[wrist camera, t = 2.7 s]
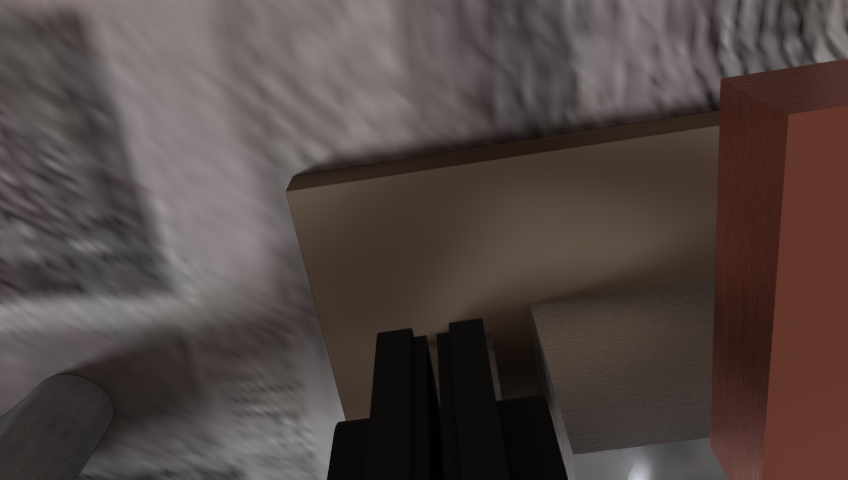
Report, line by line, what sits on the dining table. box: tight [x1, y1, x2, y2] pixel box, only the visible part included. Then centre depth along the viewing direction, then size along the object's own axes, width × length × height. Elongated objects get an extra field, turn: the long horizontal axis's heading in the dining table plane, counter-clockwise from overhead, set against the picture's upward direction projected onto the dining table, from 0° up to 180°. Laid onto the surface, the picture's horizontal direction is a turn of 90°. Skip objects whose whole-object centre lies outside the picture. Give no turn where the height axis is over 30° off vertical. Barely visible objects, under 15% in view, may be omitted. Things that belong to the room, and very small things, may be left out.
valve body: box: [428, 278, 729, 480], centre depth 21 cm, size 7×18×10 cm, turn 99°
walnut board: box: [286, 110, 720, 421], centre depth 26 cm, size 18×22×2 cm
